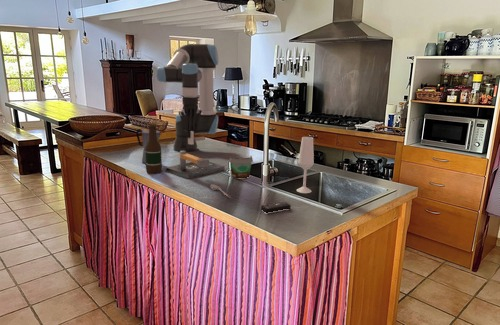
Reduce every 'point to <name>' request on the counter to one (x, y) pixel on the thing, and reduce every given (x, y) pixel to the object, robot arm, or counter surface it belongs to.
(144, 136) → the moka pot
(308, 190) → the champagne flute
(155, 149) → the beer bottle
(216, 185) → the spoon
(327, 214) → the counter surface
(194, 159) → the hammer
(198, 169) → the plate
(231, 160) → the food container
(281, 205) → the multiport hub
